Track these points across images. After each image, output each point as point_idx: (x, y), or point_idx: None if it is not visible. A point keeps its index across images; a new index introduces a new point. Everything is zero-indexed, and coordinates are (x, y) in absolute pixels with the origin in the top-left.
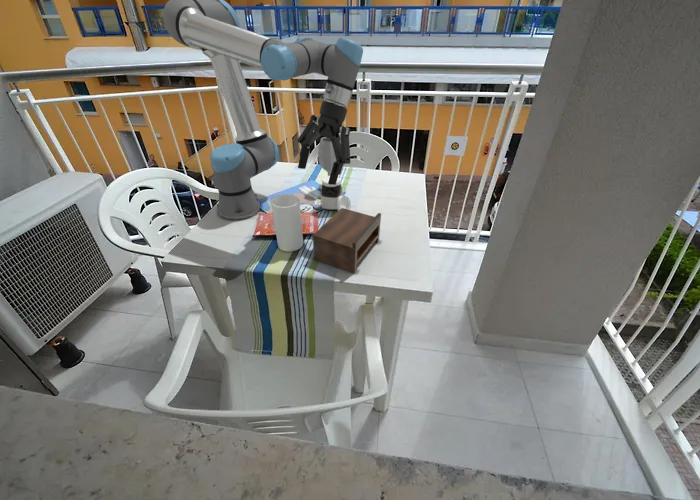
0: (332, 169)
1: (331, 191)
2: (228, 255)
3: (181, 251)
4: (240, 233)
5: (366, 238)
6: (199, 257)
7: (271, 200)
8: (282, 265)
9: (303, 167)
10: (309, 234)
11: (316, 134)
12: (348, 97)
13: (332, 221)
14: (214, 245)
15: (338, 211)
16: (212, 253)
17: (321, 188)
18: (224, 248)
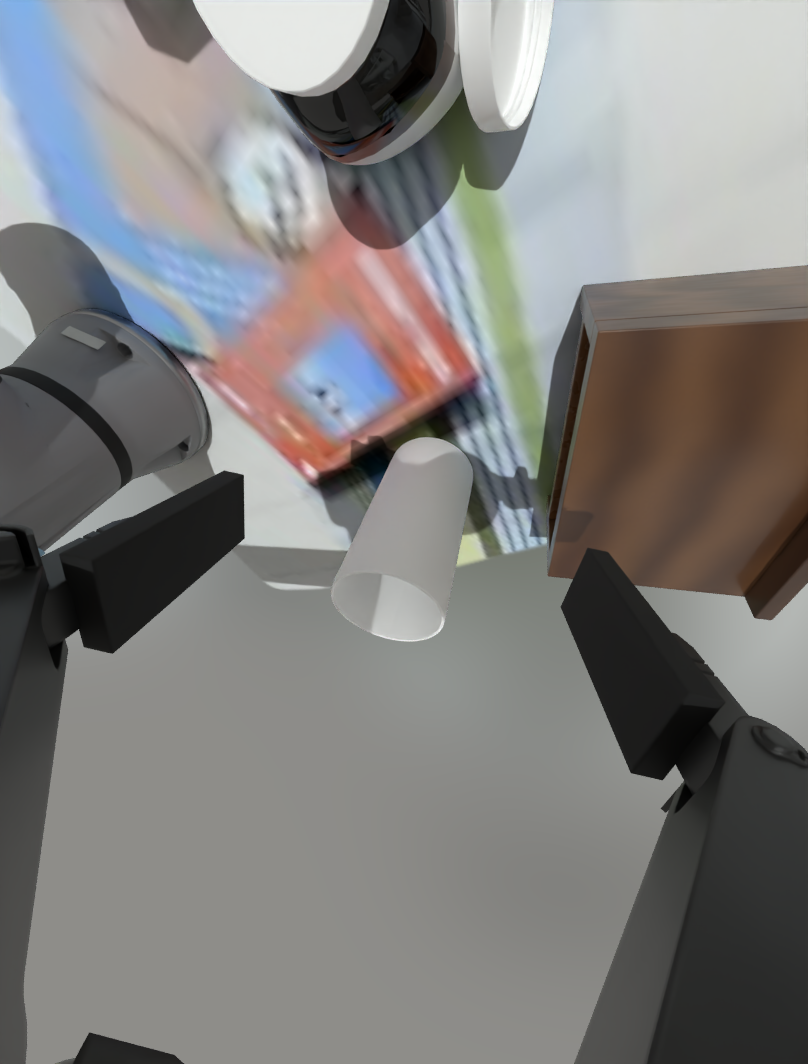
0: (605, 698)
1: (388, 96)
2: (340, 556)
3: (262, 571)
4: (277, 489)
5: None
6: (304, 574)
7: (345, 617)
8: (474, 548)
9: (238, 503)
10: (452, 399)
11: (16, 994)
12: None
13: (591, 484)
14: (285, 542)
15: (590, 386)
16: (309, 561)
17: (280, 104)
18: (310, 543)
